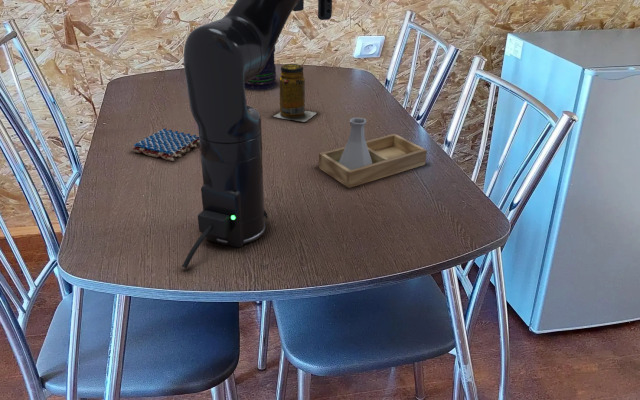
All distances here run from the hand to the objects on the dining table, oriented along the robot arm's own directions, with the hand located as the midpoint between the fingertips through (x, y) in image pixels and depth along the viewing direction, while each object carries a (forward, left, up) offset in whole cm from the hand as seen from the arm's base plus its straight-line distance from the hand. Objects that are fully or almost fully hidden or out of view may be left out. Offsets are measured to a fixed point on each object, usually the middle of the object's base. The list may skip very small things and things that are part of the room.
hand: (310, 14), depth 96 cm
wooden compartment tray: (+8, -11, -30) cm, 33 cm away
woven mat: (-1, +32, -30) cm, 44 cm away
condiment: (+28, +15, -30) cm, 44 cm away
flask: (+4, -8, -29) cm, 31 cm away
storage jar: (+46, +34, -30) cm, 65 cm away
